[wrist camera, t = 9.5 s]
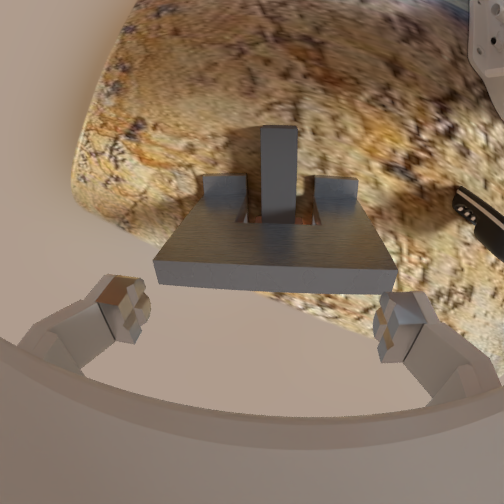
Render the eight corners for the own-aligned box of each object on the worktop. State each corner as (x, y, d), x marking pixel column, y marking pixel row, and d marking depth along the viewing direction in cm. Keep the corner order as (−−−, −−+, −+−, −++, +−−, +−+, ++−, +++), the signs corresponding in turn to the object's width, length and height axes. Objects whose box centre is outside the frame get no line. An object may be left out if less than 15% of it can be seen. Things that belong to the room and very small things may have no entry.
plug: (254, 125, 25) (247, 129, 21) (305, 126, 25) (309, 130, 20) (257, 254, 33) (252, 279, 29) (299, 256, 32) (300, 282, 28)
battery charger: (444, 209, 26) (495, 260, 17) (457, 182, 25) (515, 225, 15) (475, 231, 27) (521, 281, 17) (488, 207, 25) (539, 252, 15)
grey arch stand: (205, 173, 28) (146, 233, 17) (356, 177, 27) (405, 242, 15) (210, 224, 32) (164, 305, 20) (350, 228, 30) (383, 315, 18)
